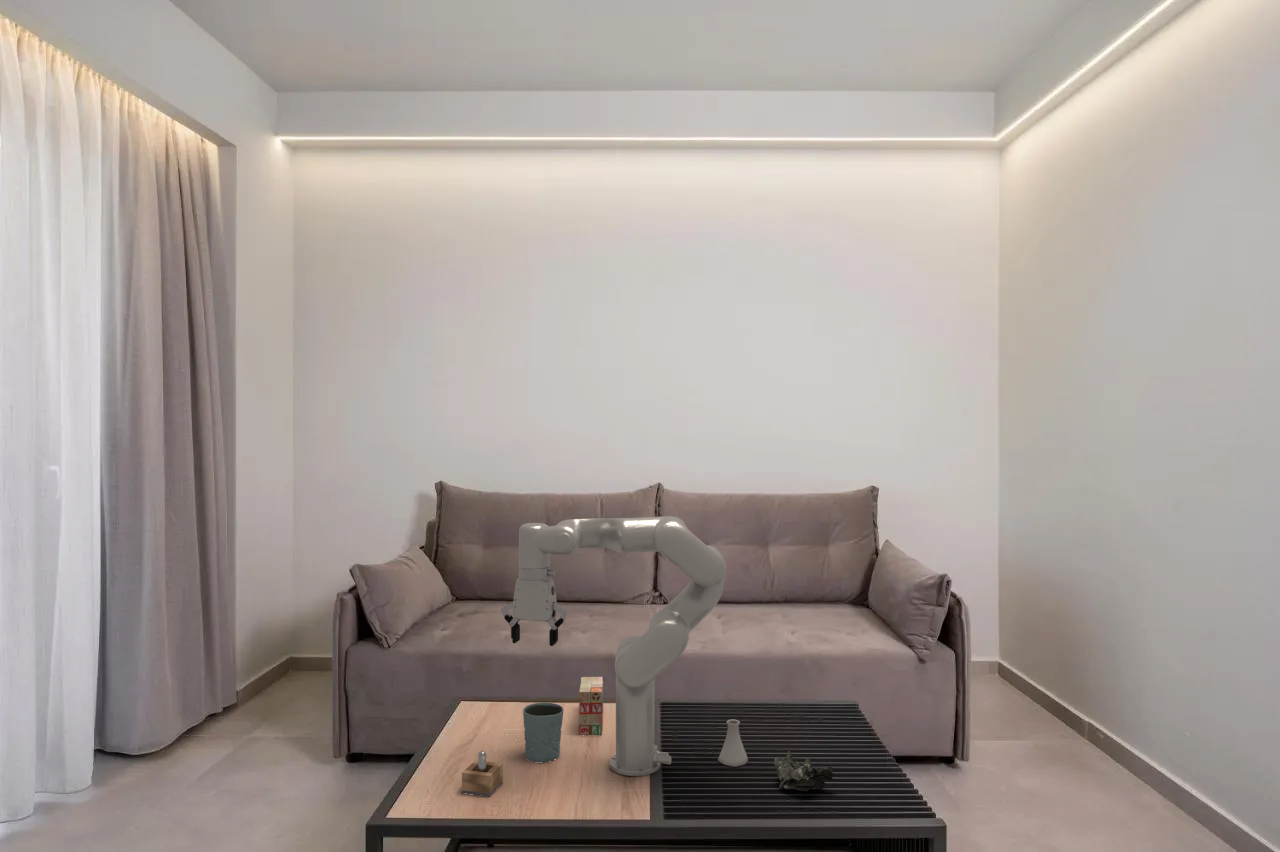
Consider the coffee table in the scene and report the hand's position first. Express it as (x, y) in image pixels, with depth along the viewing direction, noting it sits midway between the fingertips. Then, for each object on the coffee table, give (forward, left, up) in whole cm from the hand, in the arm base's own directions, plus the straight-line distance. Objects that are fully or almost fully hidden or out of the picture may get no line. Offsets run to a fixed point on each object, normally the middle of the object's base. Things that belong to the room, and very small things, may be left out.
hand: (534, 643), depth 206 cm
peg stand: (+7, +15, -30) cm, 35 cm away
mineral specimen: (-65, -6, -31) cm, 72 cm away
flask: (-47, -15, -31) cm, 58 cm away
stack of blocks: (-5, -32, -31) cm, 44 cm away
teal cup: (0, -6, -31) cm, 31 cm away
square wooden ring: (+7, +15, -30) cm, 34 cm away
